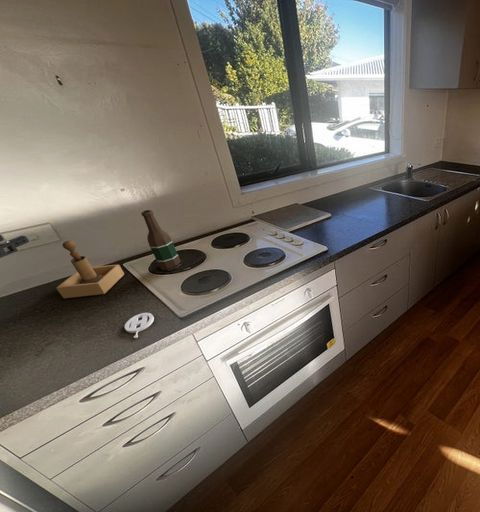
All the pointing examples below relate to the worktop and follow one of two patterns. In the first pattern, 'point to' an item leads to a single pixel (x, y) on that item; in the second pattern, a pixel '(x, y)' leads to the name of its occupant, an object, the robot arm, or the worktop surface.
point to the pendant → (139, 323)
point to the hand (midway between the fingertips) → (13, 237)
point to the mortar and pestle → (82, 265)
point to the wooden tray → (76, 289)
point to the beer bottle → (160, 243)
